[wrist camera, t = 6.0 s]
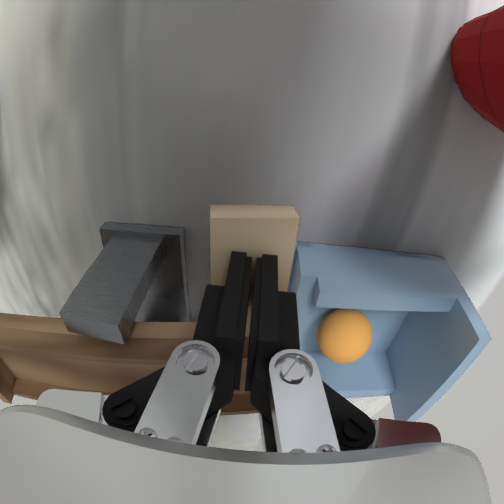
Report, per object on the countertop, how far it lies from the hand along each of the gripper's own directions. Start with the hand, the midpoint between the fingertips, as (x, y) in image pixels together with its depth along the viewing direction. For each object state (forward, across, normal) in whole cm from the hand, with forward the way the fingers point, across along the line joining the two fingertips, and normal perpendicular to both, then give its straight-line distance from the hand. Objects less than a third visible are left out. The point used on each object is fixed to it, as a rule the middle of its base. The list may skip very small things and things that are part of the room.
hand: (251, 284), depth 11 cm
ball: (+3, -6, +6) cm, 9 cm away
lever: (0, +8, +3) cm, 8 cm away
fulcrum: (+6, +7, +6) cm, 11 cm away
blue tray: (+6, -7, +6) cm, 11 cm away
